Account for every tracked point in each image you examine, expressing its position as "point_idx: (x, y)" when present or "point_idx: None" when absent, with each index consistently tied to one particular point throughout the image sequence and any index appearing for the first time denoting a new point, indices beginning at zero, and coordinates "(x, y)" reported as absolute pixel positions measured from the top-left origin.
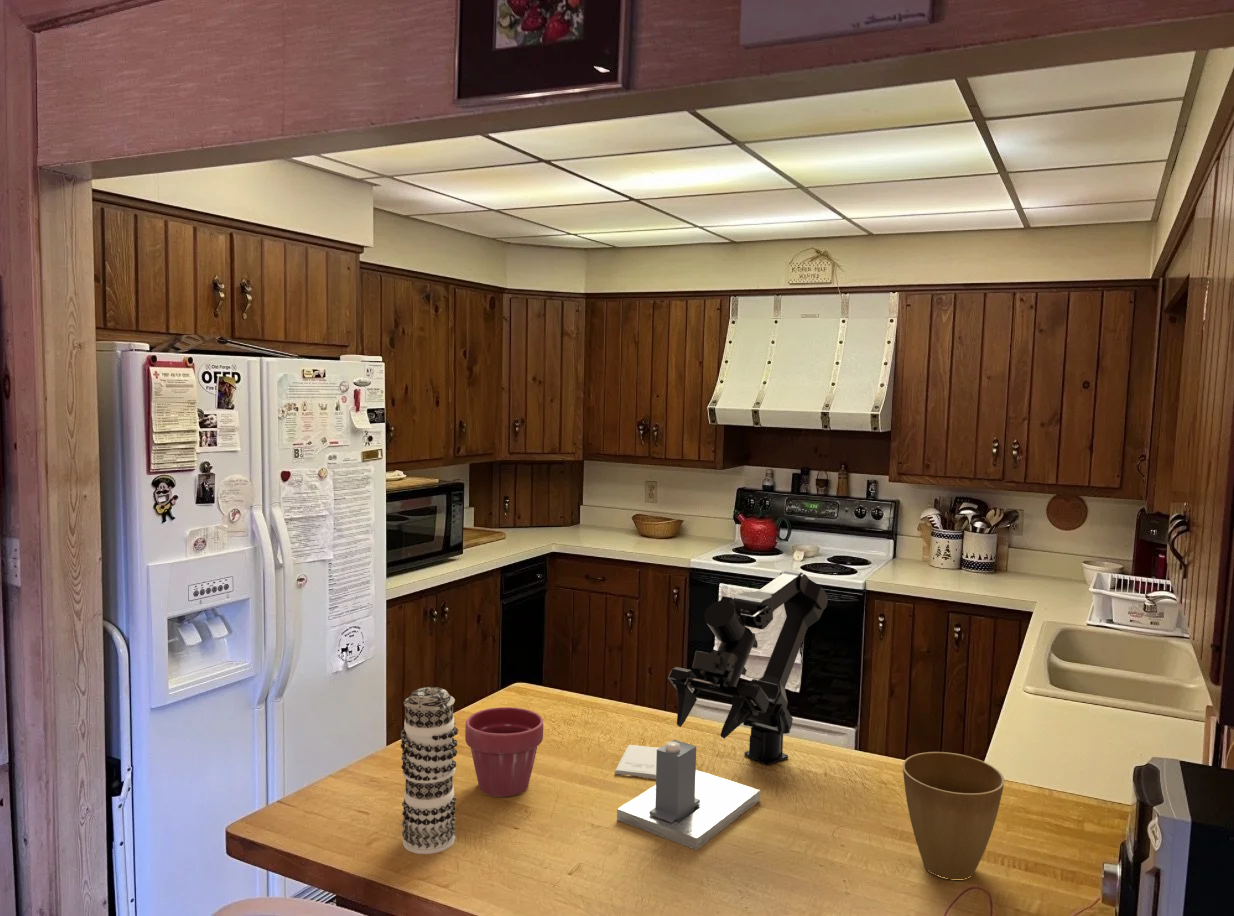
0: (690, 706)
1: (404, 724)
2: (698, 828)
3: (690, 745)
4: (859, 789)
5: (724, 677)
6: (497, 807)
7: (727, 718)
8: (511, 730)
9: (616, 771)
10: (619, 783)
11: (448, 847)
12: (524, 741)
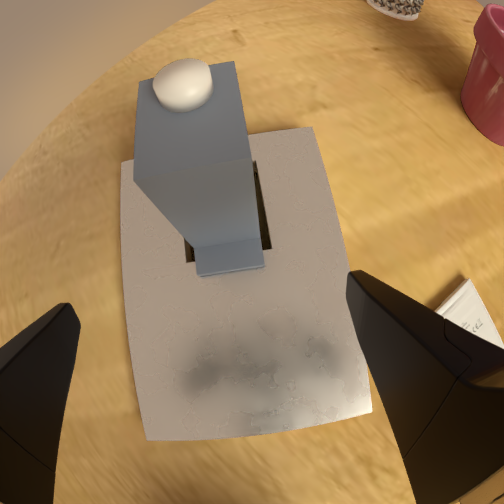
0: (405, 433)
1: None
2: (136, 188)
3: (156, 166)
4: None
5: None
6: (439, 71)
7: (11, 356)
8: None
9: (467, 279)
10: (432, 256)
11: (369, 3)
12: (484, 31)
